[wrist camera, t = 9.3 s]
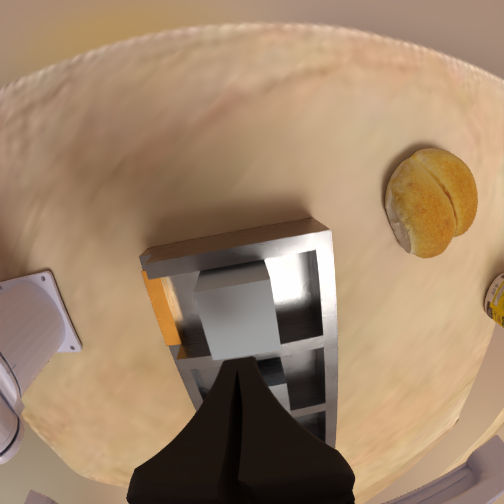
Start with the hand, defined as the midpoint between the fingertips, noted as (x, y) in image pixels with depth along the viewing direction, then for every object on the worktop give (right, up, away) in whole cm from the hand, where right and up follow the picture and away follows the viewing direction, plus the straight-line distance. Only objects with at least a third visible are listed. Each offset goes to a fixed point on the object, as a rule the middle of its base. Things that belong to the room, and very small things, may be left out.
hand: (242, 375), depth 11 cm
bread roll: (+15, +10, +9) cm, 20 cm away
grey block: (-1, +3, +8) cm, 9 cm away
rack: (+1, -4, +11) cm, 12 cm away
